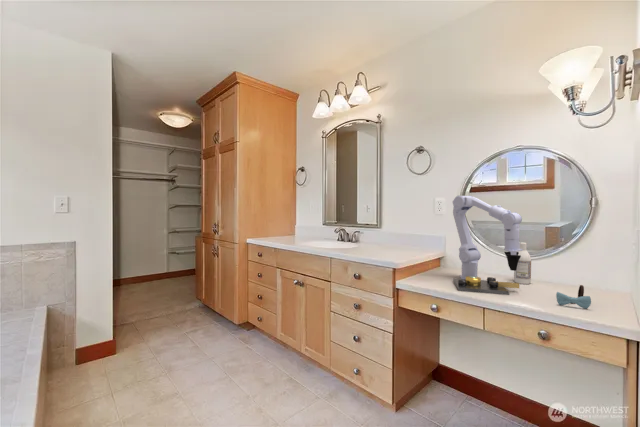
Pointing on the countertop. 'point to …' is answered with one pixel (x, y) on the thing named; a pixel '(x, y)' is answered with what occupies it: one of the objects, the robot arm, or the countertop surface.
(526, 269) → the bath foam
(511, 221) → the robot arm
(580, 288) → the compass
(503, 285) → the wooden stick
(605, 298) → the countertop surface
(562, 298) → the bow tie
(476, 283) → the plate
